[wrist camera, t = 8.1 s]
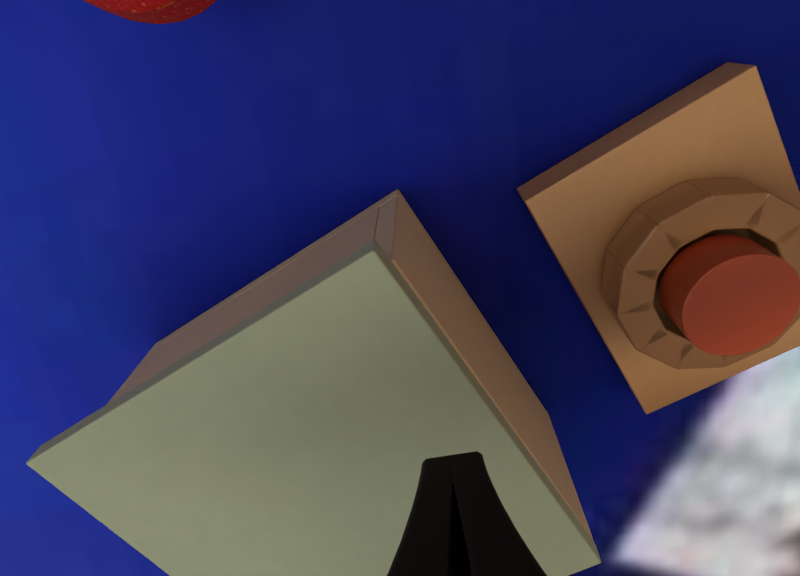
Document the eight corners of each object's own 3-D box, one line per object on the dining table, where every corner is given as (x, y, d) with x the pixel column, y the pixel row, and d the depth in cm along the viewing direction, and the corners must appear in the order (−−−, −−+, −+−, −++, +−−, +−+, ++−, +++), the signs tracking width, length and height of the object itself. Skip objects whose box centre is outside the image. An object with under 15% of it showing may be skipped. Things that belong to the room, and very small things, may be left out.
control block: (815, 304, 22) (883, 351, 19) (631, 390, 24) (665, 445, 21) (727, 61, 18) (794, 68, 15) (516, 188, 20) (535, 217, 17)
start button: (782, 297, 18) (817, 322, 17) (681, 345, 19) (705, 374, 18) (749, 212, 17) (783, 231, 16) (642, 268, 18) (664, 291, 17)
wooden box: (155, 343, 23) (65, 455, 17) (397, 188, 20) (393, 258, 14) (328, 518, 28) (305, 656, 22) (548, 413, 25) (594, 541, 19)
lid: (40, 445, 17) (24, 464, 16) (375, 237, 14) (373, 250, 13) (305, 657, 22) (301, 679, 21) (594, 542, 19) (602, 563, 18)
